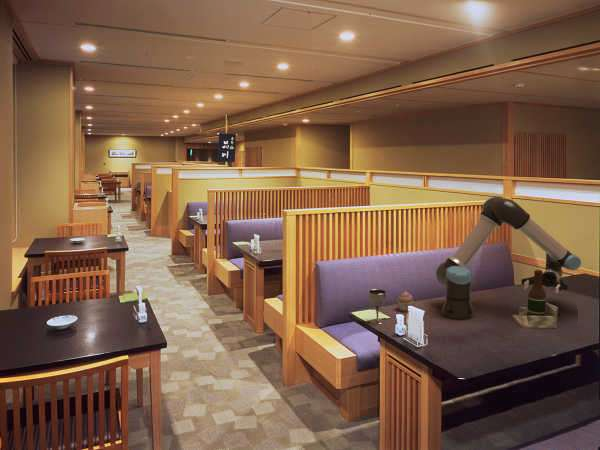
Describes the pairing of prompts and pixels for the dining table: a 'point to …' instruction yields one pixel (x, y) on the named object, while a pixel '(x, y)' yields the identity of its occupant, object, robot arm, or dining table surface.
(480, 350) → the dining table surface
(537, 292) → the beer bottle
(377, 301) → the wine glass
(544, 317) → the wooden display stand
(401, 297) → the cupcake
